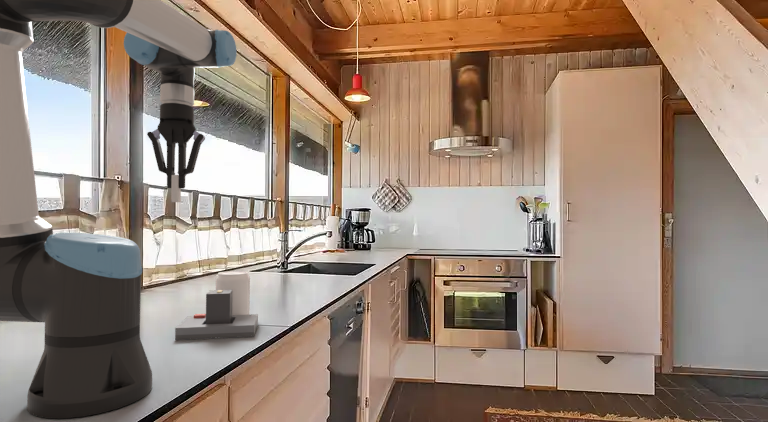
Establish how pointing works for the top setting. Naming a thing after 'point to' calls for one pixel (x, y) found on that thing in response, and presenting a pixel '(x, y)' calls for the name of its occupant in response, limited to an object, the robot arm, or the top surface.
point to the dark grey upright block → (219, 307)
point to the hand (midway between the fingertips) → (175, 202)
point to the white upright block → (236, 289)
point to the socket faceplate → (216, 327)
